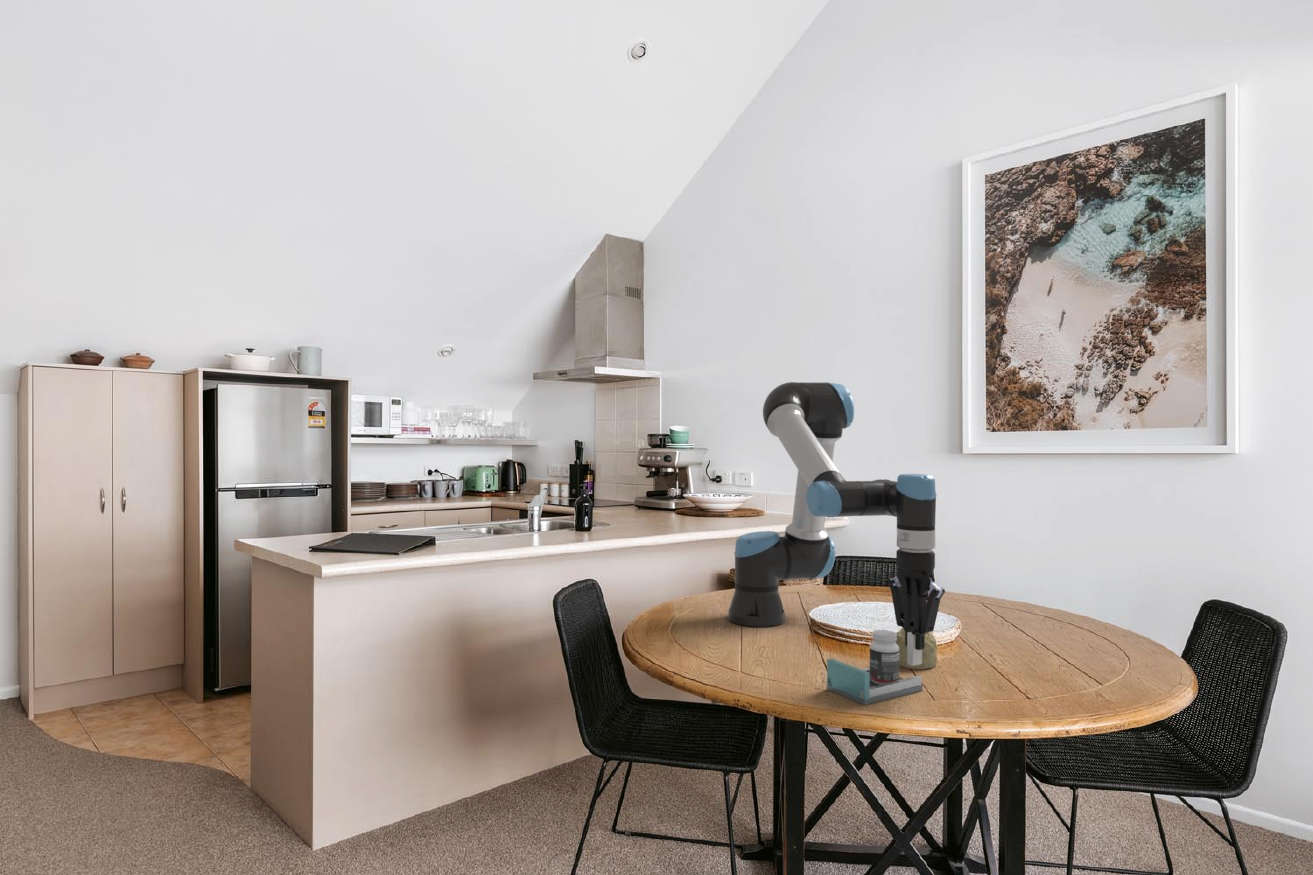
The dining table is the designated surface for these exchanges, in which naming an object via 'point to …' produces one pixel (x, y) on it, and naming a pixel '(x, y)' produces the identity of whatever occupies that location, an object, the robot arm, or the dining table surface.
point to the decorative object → (927, 653)
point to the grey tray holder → (866, 684)
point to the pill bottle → (884, 657)
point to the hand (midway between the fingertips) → (914, 663)
